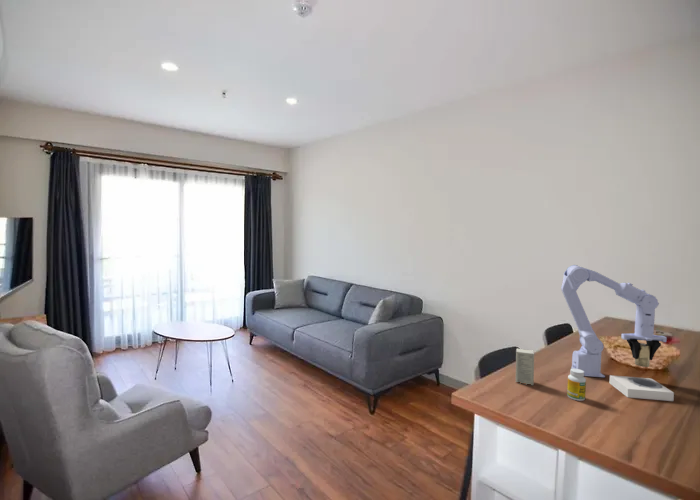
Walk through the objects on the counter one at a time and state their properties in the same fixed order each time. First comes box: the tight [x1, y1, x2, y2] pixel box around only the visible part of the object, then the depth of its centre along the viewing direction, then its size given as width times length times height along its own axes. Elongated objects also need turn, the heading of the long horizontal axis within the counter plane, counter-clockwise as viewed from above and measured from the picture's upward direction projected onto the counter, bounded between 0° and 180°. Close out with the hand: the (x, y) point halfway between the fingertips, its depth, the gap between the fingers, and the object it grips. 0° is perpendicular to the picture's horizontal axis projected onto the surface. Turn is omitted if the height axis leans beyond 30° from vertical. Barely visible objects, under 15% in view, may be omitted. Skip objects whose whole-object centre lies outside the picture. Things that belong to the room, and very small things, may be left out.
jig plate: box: [609, 374, 675, 402], centre depth 131 cm, size 14×12×3 cm
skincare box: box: [515, 348, 535, 386], centre depth 138 cm, size 6×4×12 cm
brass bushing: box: [634, 342, 651, 368], centre depth 141 cm, size 4×4×8 cm
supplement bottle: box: [566, 368, 587, 402], centre depth 125 cm, size 5×5×10 cm
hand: (642, 358), depth 141 cm, fingers closed on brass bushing, 4 cm apart
